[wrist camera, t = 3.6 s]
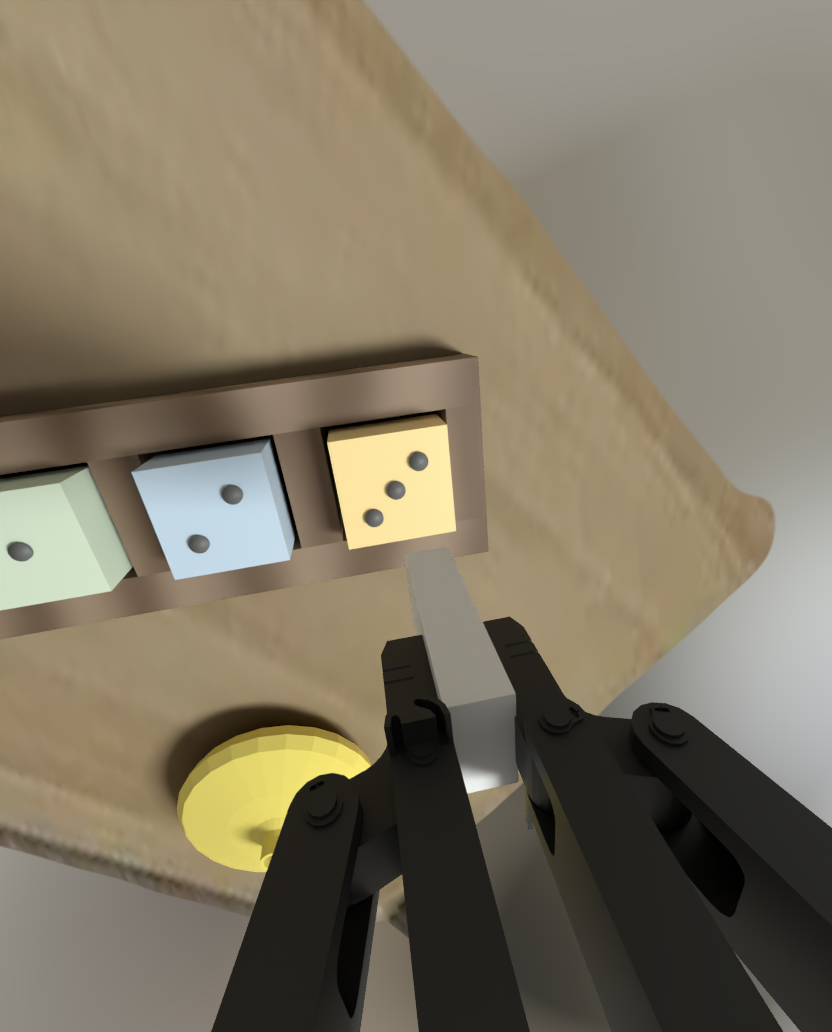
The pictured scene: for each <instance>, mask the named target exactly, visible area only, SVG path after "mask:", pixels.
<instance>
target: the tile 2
mask: <svg viewBox="0 0 832 1032" xmlns="http://www.w3.org/2000/svg"><path fill="white" fill-rule="evenodd" d="M131 473H132V475H133V478H134V480H135V483H136V485H137V488H138V490H139V492H140V495H141V497H142V500H143V502H144V505H145V507H146V510H147V512H148V515H149V517H150V520H151V522H152V525H153V527H154V530H155V532H156V534H157V537H158V539H159V542H160V544H161V547H162V549H163V552H164V554H165V557H166V559H167V562H168V564H169V567H170V569H171V571H172V574H173V576H174V579H175V580H178V579H184V578H190V577H196V576H201V575H207V574H213V573H219V572H224V571H230V570H236V569H241V568H247V567H253V566H259V565H264V564H270V563H276V562H282V561H287V560H290V558H291V553H292V549H293V545H294V540H295V533H294V529H293V525H292V522H291V518H290V514H289V510H288V506H287V502H286V498H285V495H284V491H283V487H282V483H281V479H280V475H279V471H278V467H277V464H276V460H275V456H274V452H273V448H272V444H271V440H270V439H264V440H257V441H250V442H244V443H237V444H230V445H223V446H217V447H210V448H203V449H197V450H190V451H183V452H176V453H170V454H163V455H156V456H154V457H153V458H151V459H150V460H148V461H147V462H145V463H144V464H143V465H141V466H140V467H138V468H137V469H135V470H134V471H132V472H131Z"/></svg>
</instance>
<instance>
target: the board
mask: <svg viewBox="0 0 832 1032" xmlns="http://www.w3.org/2000/svg"><path fill="white" fill-rule="evenodd" d="M429 411H436V413H437V415H438V416H439V417H440V418H441V419H442V420H443V421H444V422H445V423H446V424H447V430H448V442H449V453H450V465H451V476H452V488H453V499H454V511H455V522H456V531H454V532H448V533H442V534H437V535H431V536H425V537H419V538H414V539H408V540H402V541H396V542H391V543H385V544H379V545H373V546H368V547H362V548H356V549H351V550H349V547H348V542H347V537H346V532H345V527H344V522H343V518H342V513H341V508H340V503H339V498H338V493H337V488H336V483H335V478H334V474H333V469H332V464H331V459H330V454H329V449H328V444H327V439H326V434H325V429H324V427H327V426H334V425H341V424H348V423H354V422H361V421H368V420H375V419H381V418H388V417H395V416H402V415H408V414H415V413H422V412H429ZM266 435H273V437H274V441H275V445H276V449H277V453H278V457H279V460H280V464H281V468H282V472H283V476H284V480H285V484H286V488H287V492H288V496H289V500H290V504H291V508H292V512H293V515H294V519H295V523H296V527H297V529H295V530H294V533H295V540H294V545H293V549H292V553H291V558H290V560H287V561H282V562H276V563H270V564H264V565H259V566H253V567H247V568H241V569H236V570H230V571H224V572H219V573H213V574H207V575H201V576H196V577H190V578H184V579H178V580H175V579H174V576H173V574H172V571H171V569H170V567H169V564H168V562H167V559H166V557H165V554H164V552H163V549H162V547H161V544H160V542H159V539H158V537H157V534H156V532H155V530H154V527H153V525H152V522H151V520H150V517H149V515H148V512H147V510H146V507H145V505H144V502H143V500H142V497H141V495H140V492H139V490H138V488H137V485H136V483H135V480H134V478H133V475H132V473H131V472H132V471H134V470H135V469H137V468H138V467H140V466H141V465H143V464H144V463H145V462H147V461H148V460H150V459H151V458H153V457H154V456H156V455H163V454H164V453H163V451H165V450H172V449H178V448H185V447H192V446H199V445H205V444H212V443H219V442H226V441H233V440H239V439H246V438H253V437H260V436H266ZM84 462H87V463H88V466H89V468H90V470H91V472H92V475H93V477H94V479H95V481H96V484H97V486H98V488H99V490H100V493H101V495H102V497H103V499H104V502H105V504H106V506H107V508H108V511H109V513H110V515H111V517H112V520H113V522H114V524H115V526H116V529H117V531H118V533H119V535H120V538H121V540H122V542H123V544H124V547H125V549H126V551H127V553H128V556H129V558H130V560H131V562H132V565H133V567H132V568H131V569H130V571H129V572H128V573H127V574H126V575H125V576H124V577H123V579H122V580H121V581H120V582H119V583H118V584H117V585H116V587H115V588H114V589H113V590H112V591H110V592H104V593H98V594H92V595H87V596H81V597H75V598H69V599H64V600H58V601H52V602H46V603H41V604H35V605H29V606H23V607H18V608H12V609H6V610H1V611H0V639H4V638H10V637H16V636H21V635H27V634H32V633H38V632H43V631H49V630H54V629H60V628H66V627H71V626H77V625H82V624H88V623H93V622H99V621H104V620H110V619H116V618H121V617H127V616H132V615H138V614H143V613H149V612H154V611H160V610H166V609H171V608H177V607H182V606H188V605H193V604H199V603H205V602H210V601H216V600H221V599H227V598H232V597H238V596H243V595H249V594H255V593H260V592H266V591H271V590H277V589H282V588H288V587H293V586H299V585H305V584H310V583H316V582H321V581H327V580H332V579H338V578H343V577H349V576H355V575H360V574H366V573H371V572H377V571H382V570H388V569H394V568H399V567H405V566H406V564H405V557H404V554H406V553H412V552H418V551H424V550H429V549H435V548H441V547H447V546H448V548H449V550H450V553H451V555H452V557H453V558H455V557H460V556H466V555H471V554H477V553H482V552H488V534H487V516H486V497H485V479H484V460H483V441H482V423H481V404H480V386H479V367H478V357H476V356H472V355H468V354H458V355H450V356H443V357H436V358H428V359H421V360H414V361H406V362H399V363H392V364H384V365H377V366H370V367H362V368H355V369H348V370H340V371H333V372H326V373H318V374H311V375H304V376H296V377H289V378H282V379H274V380H267V381H260V382H252V383H245V384H238V385H230V386H223V387H216V388H208V389H201V390H194V391H186V392H179V393H172V394H164V395H157V396H150V397H143V398H135V399H128V400H121V401H113V402H106V403H99V404H91V405H84V406H77V407H69V408H62V409H55V410H47V411H40V412H33V413H25V414H18V415H11V416H3V417H0V475H2V474H9V473H16V472H23V471H30V470H36V469H43V468H50V467H57V466H63V465H70V464H77V463H84Z"/></svg>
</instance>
